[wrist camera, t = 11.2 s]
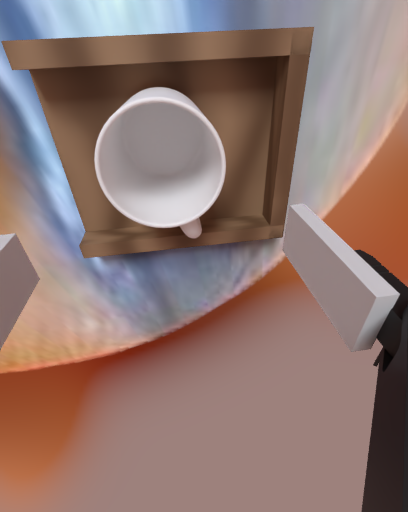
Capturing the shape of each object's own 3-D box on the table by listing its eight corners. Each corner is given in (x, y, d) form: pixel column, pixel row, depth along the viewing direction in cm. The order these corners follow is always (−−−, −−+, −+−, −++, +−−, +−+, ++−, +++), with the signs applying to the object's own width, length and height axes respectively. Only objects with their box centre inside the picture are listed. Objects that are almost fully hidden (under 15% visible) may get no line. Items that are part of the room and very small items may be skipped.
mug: (225, 195, 30) (249, 246, 21) (156, 220, 30) (153, 278, 22) (189, 70, 23) (204, 73, 14) (100, 106, 23) (64, 128, 15)
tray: (91, 241, 31) (83, 258, 29) (23, 44, 21) (1, 41, 18) (272, 222, 33) (282, 237, 30) (295, 31, 22) (314, 26, 20)
